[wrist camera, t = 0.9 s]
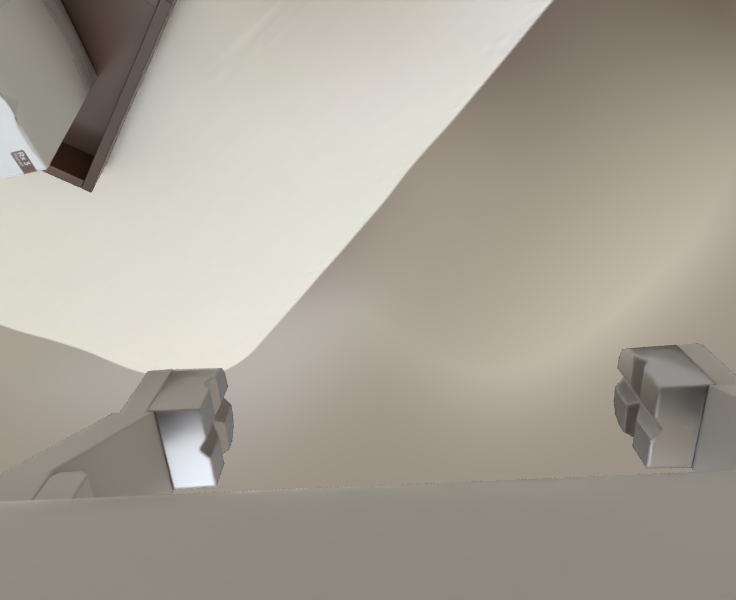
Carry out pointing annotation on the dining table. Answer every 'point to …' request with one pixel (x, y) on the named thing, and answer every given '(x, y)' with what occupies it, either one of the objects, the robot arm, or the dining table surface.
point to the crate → (107, 79)
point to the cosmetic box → (38, 82)
